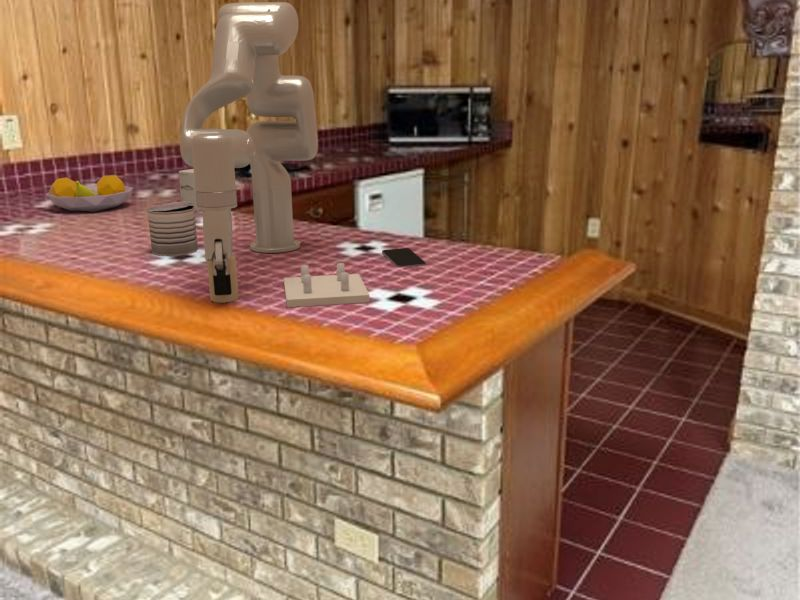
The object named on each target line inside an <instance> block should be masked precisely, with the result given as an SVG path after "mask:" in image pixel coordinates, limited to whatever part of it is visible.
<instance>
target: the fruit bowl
mask: <svg viewBox="0 0 800 600" xmlns="http://www.w3.org/2000/svg"><path fill="white" fill-rule="evenodd" d="M133 190H134V187H131V186H127V185H125V184H124V182H123V181H122V180H121V178H119V177H118V176H117V175H116V174H111V175H109V174H108V175H103V176H102V177H101V178H100V179H99V180H98V181H97V183H96V184H93V185H91V184H90V185H84V184H81V183H80V181H79V180H75V181H74V180H73V179H70V178H69V177H59V178H56V179H55V181H54V182H53V183H52V184H51V186H50V189H49V191H48V192H47V193H45V195H46V196H47V198H48V199H49V200H50V201H51V202H52V203H53V205H55V206H56V207H59V208H62V209H65V210H68V211H71V212H98V211H99V212H100V211H104V210H108V209H114V208H117V207H118V206H120V205H121V204H123V203H125V202H126V201H129V200H130V198H131V196H132V192H133Z"/></svg>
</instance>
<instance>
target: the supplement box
mask: <svg viewBox="0 0 800 600" xmlns="http://www.w3.org/2000/svg"><path fill="white" fill-rule="evenodd" d="M178 179H179V181H178V182H179V192H180V202H187V201H191V202H193V203H195V204H192V205H191V206H194V212H198V211H199V212H201V211H202V210H201V209H198V208H197V202H196V190H195V179H194V168H190V169H183V170H179V171H178Z"/></svg>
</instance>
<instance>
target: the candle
mask: <svg viewBox="0 0 800 600" xmlns="http://www.w3.org/2000/svg"><path fill="white" fill-rule="evenodd" d="M215 259H216V257H215ZM223 259H226V257H225V256H223ZM206 264H207V265H206V266H207V274H208V275H207V276H208V277H207V278H208V285H209V286H208V288H209V298H210V301H211V302H212V301H213V302H212V303H218V304H220V303H221V304H223V303H225V304H226V302H227V303H232V302H235V301H237V300H238V299H239V284H238V270H237V269H238V268H237V257H236V255H235V254H233V253H232V255H231V258H230V259H229V260H228V270H229V274H230V278H231V291H232V293H231V294H230V295H215V293H214V281H213V275H214V268H213V256H212V259H209V261H206ZM223 264H225V262H223Z"/></svg>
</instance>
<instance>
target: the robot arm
mask: <svg viewBox="0 0 800 600" xmlns="http://www.w3.org/2000/svg"><path fill="white" fill-rule="evenodd" d="M217 20H218V21H217V23H216V27H215V33H214V39H213V41H214V42H213V50H212V61H211V69H210V78H209V80H208V81H207V82H206V83H205V84H204V85H202V86H201V87H200V88H199V90H197V91H196V92H195V94H194V95H193V97H192V98H191V99H190V101H189V102H188V104H187V105H186V106H185V109H184V111H183V116H182V121H181V122H182V123H181V128H180V130H181V131H180V136H179V137H180V139H179V149H180V156H181V159H182V160H183V162H184V163H185V164H186V165H187V166H189V167H192V169H194V179H195V190H196V202H197V208H198V209H201V210H200V211H202V229H203V242H204V260H206V262H207V261H209V259H212V256H213V268H214V275H213V281H214V293H215V295H230V294H231V293H232V291H231V278H230V274H229V270H228V260H229V259H230V258H231V255H232V254H233V241H234V240H233V236H234V235H233V234H234V233H233V220H232V217H233V216H232V209H235V208H237V207H238V199H237V198H238V197H237V188H236V187H237V186H236V172H235V169H241V168H245V167H247V166H248V165H250V172H251V183H252V195H253V196H252V198H253V200H252V201H253V213H254V214H253V215H254V227H255V228H254V230H255V241H253V242H251V243H250V245H249V246H250V247H249V248H250V250H251V251H252V252H257V253H263V254H275V253H276V254H277V253H287V252H292V251H295V250H298V249H299V248H300V247H301V242H300V241H299V240H297V239H294V238H295V237H294V219H293V217H294V216H293V199H292V198H293V197H292V195H293V194H292V179H291V176H290V174H289V172H288V171H287V169H286V168H285V167H284V166H283V164H282V163H281V162H285V161H287V162H289V161H291V162H296V161H297V162H299V161H301V162H303V161H304V162H305V161H310V160H313V159H314V158H315V157H316V156H317V153H318V149H319V138H318V128H317V127H318V126H317V116H316V115H317V113H316V104H315V95H314V89H313V86H312V83H311V81H310V80H309V79H308V78H307V77H305V76H302V75H282V74H281V72H280V71H281V70H280V64H279V56H280V55H283V54H284V53H286V52H287V51H288V50H289V48H290V47H291V46H292V44H293V43H295V40H296V38H297V35H298V34H299V33H298V32H299V27H300V26H299V17H298V13H297V10H296V9H295V7H294V6H293V5H292V4H291V3H289V2H285V1H284V2H283V1H276V2H275V1H271V2H268V1H267V2H264V1H263V2H257V1H248V2H247V1H244V2H231V3H227V4H224V5H222V6H220V8H219V10H218V12H217ZM244 97H245V98H246V103H247V107H248V110H249V112H250V113H251V114H252V115H254V116H256V117H262V118H293V119H294V120H261V121H257V122H253V123H251V124H250V125H249V126H248V127H247V129H246V131H245V130H243V129H237V128H233V129H231V128H228V129H227V128H202V127H203V126H204V123H205V122H206V120H207V119H208V117H210V116H211V115H212V114H213V113H214V112H216V111H217V110H220V109H221V108H223V107H225V106H228V105H229V104H232V103H234V102H237V101H239V100H241V99H243V98H244ZM223 256H225V257H226V259H223ZM215 257H216V259H215ZM223 262H225V264H223Z"/></svg>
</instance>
